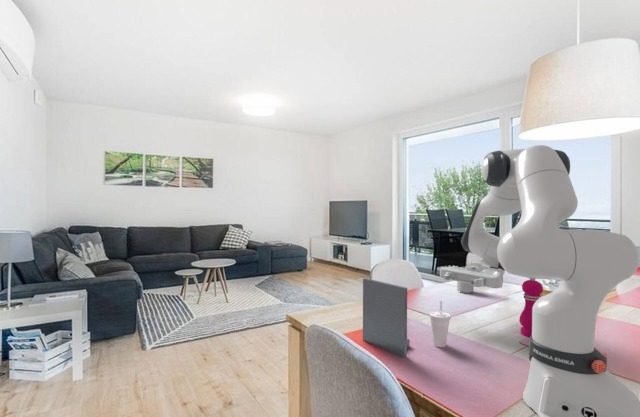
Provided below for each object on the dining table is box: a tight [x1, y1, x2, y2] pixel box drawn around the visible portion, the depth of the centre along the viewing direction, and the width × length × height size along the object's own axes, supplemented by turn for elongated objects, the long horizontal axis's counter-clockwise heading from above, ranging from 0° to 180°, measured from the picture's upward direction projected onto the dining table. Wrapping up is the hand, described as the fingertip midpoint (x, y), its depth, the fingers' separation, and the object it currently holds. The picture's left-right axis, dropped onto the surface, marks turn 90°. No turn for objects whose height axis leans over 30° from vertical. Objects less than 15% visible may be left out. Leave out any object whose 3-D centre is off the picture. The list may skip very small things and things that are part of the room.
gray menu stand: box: [362, 277, 411, 358], centre depth 105 cm, size 16×8×20 cm, turn 41°
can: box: [456, 266, 475, 294], centre depth 166 cm, size 8×8×12 cm
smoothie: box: [428, 300, 451, 348], centre depth 105 cm, size 6×6×14 cm
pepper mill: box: [518, 278, 544, 338], centre depth 113 cm, size 7×7×20 cm
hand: (458, 280), depth 113 cm, fingers open, 8 cm apart
